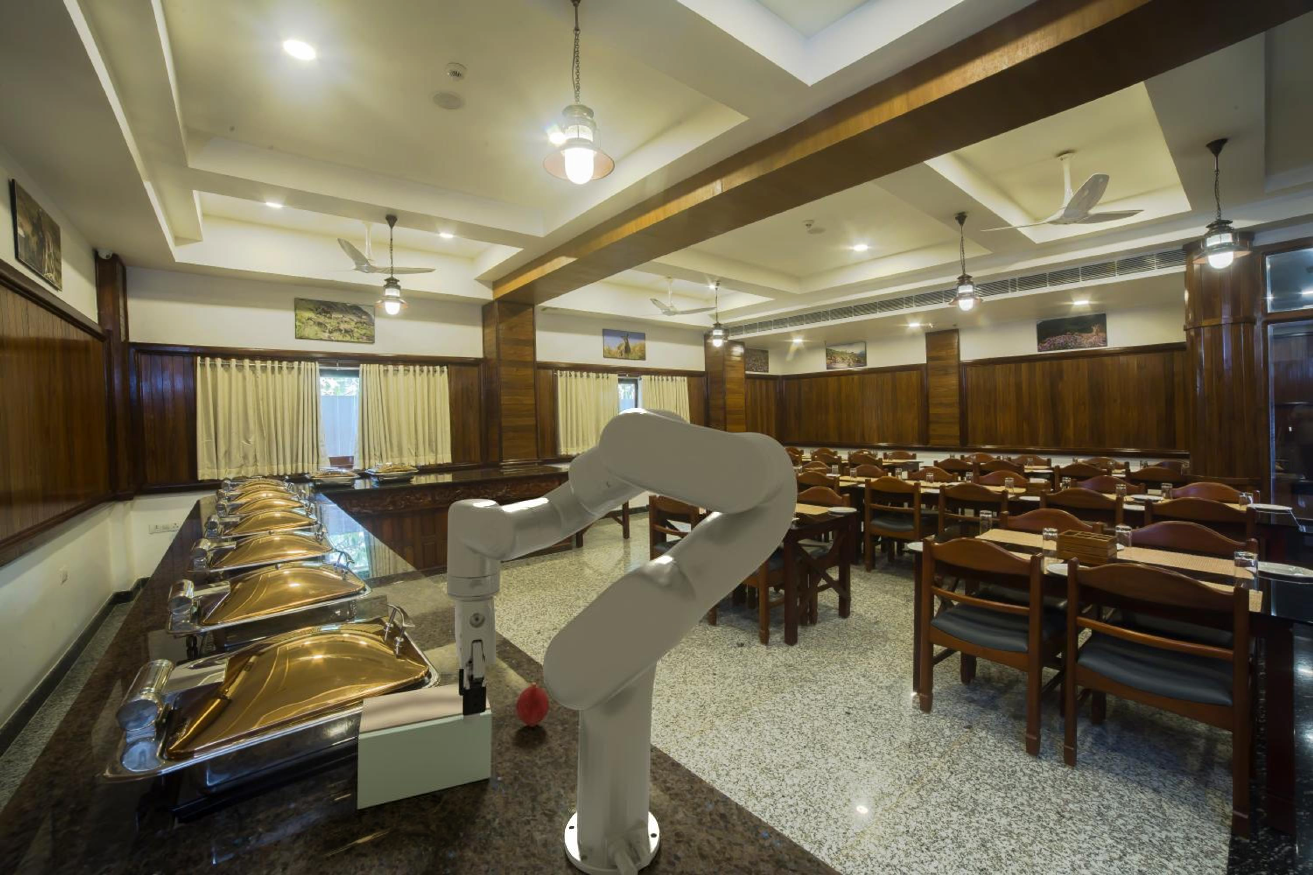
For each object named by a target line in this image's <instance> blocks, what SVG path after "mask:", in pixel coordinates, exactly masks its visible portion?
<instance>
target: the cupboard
mask: <svg viewBox="0 0 1313 875" xmlns="http://www.w3.org/2000/svg"><path fill="white" fill-rule="evenodd" d="M462 710H463V696H460V695H459V682H458V683H452V684H446V685H445V684H444V685H439V686H433V687H427V688H421V689H416V690H410V691H409V690H408V691H404V692H403V691H402V692H395V693H391V694H386V695H379V696H373V697H367V698H363V703H362V709H361V717H360V724H359V729H358V730H359V732H358V736H359V735H360V734H365V733H370V732H375V731H381V730H386V729H391V728H396V727H402V726H407V725H412V724H417V723H423V722H428V721H433V720H438V719H444V718H449V717H454V716H459V715H463V712H462ZM486 710H491V705H490V701H489V698H488V695H487V693H486Z"/></svg>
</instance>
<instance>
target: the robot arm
mask: <svg viewBox="0 0 1313 875" xmlns="http://www.w3.org/2000/svg"><path fill="white" fill-rule="evenodd" d="M567 475H568V480H567V481H565V482H564V483H563V484H561V485H560V486H558V487H556V488H555V489H553V490H551V491H549V492H547V493H545V494H544V495H543V496H540V497H538V498H534V499H527V500H523V501H517V502H513V503H509V504H504V505H500V504H499V503H498V502H497V501H495V500H491V499H483V498H470V499H469V498H468V499H461V500H458V501H455V502H453V503H452V504H450V506H449V508H448V512H447V549H446V550H447V558H446V560H447V562H446V563H447V564H446V566H447V569H446V596H447V598H449V599H451V600H454V633H455V634H454V638H455V647H456V652H457V657H458V662H459V669H458V683H459V695H460V696H463V710H462V712H463V715H464V716H468V715H473V714H478V713H483V712H485V711H486V694H487V683H486V681H487V680H486V663H487V665H491V666H494V665H495V663H496V662H497V654H496V652H497V650H496V644H497V643H496V609H495V600H494V599H495V598H494V597H495V596H497V595H498V594H500V592H501V562H502V561H510V560H515V559H516V558H519V557H523V556H526V555H528V554H530V553H535V552H536V551H537V552H538V551H539V550H542V549H546V548H549V547H551V546H553V545H555V544H558V543H559V542H562V541H564V540H565V539H567V538H569V537H571V536H572V535H574V534H576V533H578V532H580V531H581V530H583V529H585V528H587V527H588V526H590V525H591V524H593V523H594V522H596V521H597V520H599V519H601V518H603V517H605V515H607V514H608V513H610V512H612V511H613V510H615V509H616V508H619V507H621V506H622V505H624V504H626V503H627V502H629V501H630V500H632V499H634V498H636V497H638V496H639V495H642V494H643V493H645V492H649V493H652V494H654V495H658V496H662V497H665V498H668V499H672V500H674V501H678V502H681V503H683V504H687V505H690V506H693V507H696V508H700V509H703V510H706V511H708V512H709V511H710V512H711V513H710V514H709V515H708V516H706V517H705V518H704V519H702V520H701V521H700V522H698V523H697V525H696V526H694V528H692V530H690V531H689V533H688V534H686V535H685V536H684V537H683V538H682V539H681V540H679V541H678V542H677V543H676V544H674V545H673V546H672V547H671V548H670V549H669V550H667V551H666V552H664V553H663V554H662V555H659V556H658V557H656V558H654V559H651V560H650V561H647V562H646V563H644V564H642V565H641V566H638V567H637V568H635V569H633V570H631V571H629V572H628V573H626V574H624V575H622V576H620V578H618V579H617V580H615V581H614V582H613V583H612V584H611V585H609V586H608V587H607V588H605V590H603V591H602V592H601V593H600V594H599V595H598V596H597V597H595V598H594V599H593V600H592V601H591V602H590V603H589V604H588V605H586V607H584V609H582V610H581V611H580V612H578V614H577V615H576V616H575V617H573V618H572V619H571V620H569V622H567V624H566V625H564V626H563V627H562V628H561V629H560V630H558V632H557V633H556V634H555V635H554V636H553V638H552V639H551V640H550V642H549V644H548V645H547V648H546V650H545V652H544V656H543V662H542V677H543V681H544V685H545V686H546V690H547V691H548V693H549V694H550V696H551V697H552V698H553V700H555V702H557V703H558V704H560V705H561V706H563V707H564V708H566V709H569V710H575V711H579V712H578V714H579V715H578V741H577V742H578V745H577V746H578V748H577V750H578V751H577V788H576V789H577V792H576V794H577V795H576V796H577V797H576V813H574V814H573V816H572V817H571V818H570V819H569V821H568V823H567V824H566V827H565V830H564V836H563V841H564V844H563V846H564V850H565V854H566V855H567V857H568V859H569V861H570V862H571V863H572V864H573V865H574V866H575V867H576V868H578V869H579V870H581V871H582V872H584V873H586V874H588V875H638V871H640V870H641V869H644V868H645V867H647V866H649V865H650V863H651V862H652V860H653V859H654V858H655V856H656V854H657V852H658V850H659V847H660V840H661V837H660V836H661V835H660V834H661V831H660V826H659V823H658V821H657V819H656V818H655V816H654V815H653V813H652V812H651V811H650V779H651V778H650V777H651V742H652V740H651V737H652V716H653V712H652V711H653V694H654V685H655V678H656V673H657V672H656V671H657V664H658V662H659V661H660V660H661V659H662V658H664V657H665V656H667V654H668V653H669V652H671V650H673V649H674V648H675V647H676V646H677V645H678V644H679V643H680V642H682V640H684V638H685V637H687V635H688V634H690V632H691V631H692V630H694V628H695V627H697V625H698V624H699V623H700V621H702V619H703V617H704V616H705V615H706V614H707V613H708V612H709V611H710V610H711V609H712V608H713V607H714V606H715V605H717V604H718V603H719V602H720V601H721V600H723V599H724V598H725V597H726V596H728V595H729V594H730V593H731V592H732V591H734V590H735V589H736V588H737V587H738V586H739V585H740V584H741V583H742V582H743V581H745V580H746V579H748V577H749V576H751V575H752V574H753V573H754V572H755V571H756V570H758V568H760V566H762V565H763V564H764V563H765V562H766V561H767V560H768V559H769V558H770V557H771V555H772V554H773V553H774V552H775V551H776V550H777V549H778V547H779V546H780V544H781V542H783V539H784V538H785V536H786V534H787V533H788V531H789V529H790V527H791V524H792V522H793V520H794V517H795V512H796V508H797V502H798V501H797V500H798V482H797V475H796V472H795V468H794V464H793V462H792V459H791V457H790V455H789V453H788V451H787V450H786V449H785V448H784V446H783V445H782V444H781V443H780V442H778V441H777V440H776V439H774V438H773V437H771V436H769V435H767V434H764V433H759V432H729V431H724V430H720V429H716V428H715V429H714V428H711V427H706V426H703V425H697V424H694V423H690V422H688V421H686V419H685V418H684V417H682V416H681V415H679V414H677V413H676V412H673V411H671V410H667V409H661V408H660V409H659V408H657V409H656V408H647V407H646V408H645V407H635V408H630V409H629V408H628V409H626V410H623V411H622V412H619V413H617V414H616V415H615V416H613V417H612V418H611V419H610V420H609V421H608V422H607V423H606V425H605V426H604V428H603V429H602V431H601V434H600V436H599V442H598V443H597V444H596V445H594V446H592V447H591V448H589V449H587V450H586V451H584V452H582V453H581V454H578V456H576V457H575V458H573V459H572V461H571V462H570V464H569V467H568V472H567ZM471 663H473V665H468V664H471ZM464 669H465V687H464ZM469 670H473V674H472V675H470V677H469Z"/></svg>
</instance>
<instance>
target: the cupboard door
mask: <svg viewBox="0 0 1313 875" xmlns="http://www.w3.org/2000/svg"><path fill="white" fill-rule="evenodd" d="M468 665H473V663H471V664H468ZM472 674H473V670H469V677H470V675H472ZM464 687H465V669H464ZM491 710H492V709H490V710H486V711H485V712H483V713H478V714H473V715H468V716H464V715H459V716H454V717H449V718H444V719H438V720H433V721H428V722H423V723H417V724H412V725H407V726H402V727H396V728H391V729H386V730H381V731H375V732H370V733H365V734H360V735H359V734H358V739H357V741H358V742H357V743H358V744H357V757H358V758H357V810H360V809H365V808H369V807H373V806H377V805H381V804H385V803H389V802H390V803H391V802H393V801H399V800H402V799H406V798H410V797H411V798H412V797H413V796H419V795H422V794H427V793H432V792H437V791H439V790H443V789H447V788H452V787H457V786H460V785H464V784H469V783H472V782H477V781H482V780H485V779H489V778H491V775H492V774H491V770H492V769H491V768H492V721H493V720H492V716H493V715H492V714H493V712H492V711H491Z"/></svg>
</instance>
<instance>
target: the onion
mask: <svg viewBox="0 0 1313 875" xmlns="http://www.w3.org/2000/svg"><path fill="white" fill-rule="evenodd" d="M515 703H516V704H515V710H516V714H517V717H518V718H519V720H520V721H522V722H523V723H524V724H525V725H527V726H529V727H531V728H534V727H536V726H537V725H538V724H539V723H540V722H542V721H543V720H544V719H545V717H546V715H547V714H548V712H549V709H550V701H549V696H548V695H547V693H546V692H545V691H544V690H543V689H542V688H541V687H539V686H537V682H532V683H531V684H530V685H529V686H528V687H527V688H525V689H524V690H523V691H521V693H520V695H519V697H518V698H517V701H516V702H515Z"/></svg>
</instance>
